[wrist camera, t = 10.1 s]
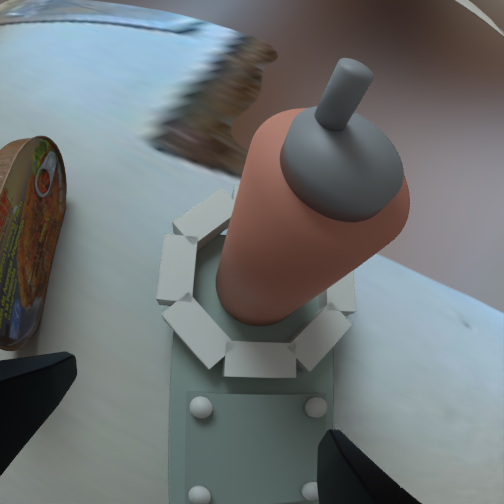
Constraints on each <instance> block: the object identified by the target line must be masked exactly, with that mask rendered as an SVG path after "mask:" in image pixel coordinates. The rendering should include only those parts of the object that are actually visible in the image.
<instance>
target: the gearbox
mask: <svg viewBox="0 0 504 504" xmlns="http://www.w3.org/2000/svg"><path fill="white" fill-rule="evenodd" d="M238 189H239V185H234V189H233V193H232V198H231V197H230V196H229V195H228V194H227V193H226V192H225V191H224V190H223V189H222V188H221V189H219V190H218V191H216V192H215V193H213V194H212V195H210V196H209V197H207V198H206V199H204V200H203V201H201V202H200V203H199V204H197V205H196V206H194V207H193V208H191V209H190V210H189V211H187V212H186V213H184V214H183V215H181V216H180V217H179V218H177V219H176V220H174V221H173V222H172V223H173V233H174V234H175V235H172V234H165V237H164V244H163V251H162V259H161V266H160V274H159V282H158V291H157V301H158V303H159V305H167V306H170V307H169V308H168V309H167V310H165V311H164V312H163V313H162V314H161V315H162V317H163V319H164V320H165V321H166V322H167V324H168V325H169V326H170V327H171V328H172V330H173V345H172V360H171V378H170V401H169V438H168V484H169V504H319V498H318V489H317V453H318V445H319V443H320V441H321V439H322V438H323V436H324V435H325V433H326V432H327V430H329V429H333V394H334V354H333V346H334V345H335V344H336V343H337V342H338V341H339V339H340V338H341V337H342V336H343V335H344V334H345V333H346V331H347V330H348V329H349V328H350V327H351V326H352V324H351V322H350V321H349V320H348V319H347V318H346V317H345V316H348V315H350V314H352V313H354V312H356V295H355V281H354V270H353V271H351V272H350V273H349V274H347V275H346V276H345V277H343V278H342V279H340V280H339V281H338V282H336V283H335V284H333V285H332V286H331V287H329V288H328V289H326V290H325V291H324V292H322V293H321V294H319V295H318V296H316V297H315V298H314V299H312V300H311V301H309V302H308V303H306V304H305V305H303V306H302V307H300V308H299V309H297V310H296V311H295V312H293V313H292V314H290V315H289V316H287V317H286V318H284V319H283V320H281V321H279V322H277V323H275V324H272V325H268V326H251V325H247V324H244V323H242V322H240V321H238V320H236V319H235V318H233V317H232V316H231V315H230V314H229V313H228V312H227V311H226V310H225V309H224V308H223V306H222V304H221V303H220V301H219V298H218V296H217V292H216V274H217V270H218V266H219V262H220V258H221V254H222V250H223V246H224V242H225V238H226V235H219V234H220V233H222V232H223V231H224V230H226V229H227V228H228V227H229V223H230V219H231V215H232V211H233V208H234V204H235V200H236V196H237V192H238Z"/></svg>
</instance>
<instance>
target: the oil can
mask: <svg viewBox="0 0 504 504" xmlns="http://www.w3.org/2000/svg"><path fill="white" fill-rule="evenodd" d="M373 78H374V76H373V73H372V72H371V71H370V70H369V69H368V68H367V67H366V66H365V65H363V64H362V63H360V62H358V61H355V60H353V59H349V58H342V59H340V60H339V61H338V64H337V66H336V68H335V70H334V72H333V74H332V76H331V79H330V81H329V83H328V85H327V87H326V89H325V91H324V94H323V96H322V98H321V100H320V102H319V104H318V106H314V107H310V108H300V109H292V110H288V111H284V112H281V113H278V114H276V115H274V116H272V117H271V118H269V119H268V120H266V121H265V122H264V123H263V124H262V125H261V126H260V127H259V129H258V130H257V131H256V133H255V135H254V137H253V139H252V142H251V145H250V149H249V152H248V156H247V159H246V163H245V166H244V170H243V174H242V178H241V181H240V185H239V189H238V192H237V196H236V200H235V204H234V208H233V211H232V215H231V219H230V223H229V227H228V231H227V235H226V238H225V242H224V246H223V250H222V254H221V258H220V262H219V266H218V270H217V274H216V292H217V296H218V298H219V301H220V303H221V304H222V306H223V308H224V309H225V310H226V311H227V312H228V313H229V314H230V315H231V316H232V317H233V318H235V319H236V320H238V321H240V322H242V323H244V324H247V325H251V326H268V325H272V324H275V323H277V322H279V321H281V320H283V319H284V318H286V317H287V316H289V315H290V314H292V313H293V312H295V311H296V310H297V309H299V308H300V307H302V306H303V305H305V304H306V303H308V302H309V301H311V300H312V299H314V298H315V297H316V296H318V295H319V294H321V293H322V292H324V291H325V290H326V289H328V288H329V287H331V286H332V285H333V284H335V283H336V282H338V281H339V280H340V279H342V278H343V277H345V276H346V275H347V274H349V273H350V272H351V271H353V270H354V269H356V268H357V267H358V266H360V265H361V264H362V263H364V262H365V261H366V260H368V259H369V258H370V257H372V256H373V255H374V254H376V253H377V252H378V251H380V250H381V249H382V248H384V247H385V246H386V245H387V244H389V243H390V242H391V241H393V240H394V239H395V238H396V237H397V236H398V235H399V234H400V232H401V231H402V229H403V227H404V226H405V223H406V221H407V218H408V214H409V207H410V198H409V190H408V185H407V182H406V179H405V176H404V172H403V166H402V162H401V159H400V156H399V154H398V152H397V150H396V148H395V147H394V145H393V144H392V142H391V141H390V139H389V138H388V137H387V136H386V135H385V134H384V133H383V132H382V131H381V130H380V129H379V128H378V127H377V126H376V125H374V124H373V123H372V122H370V121H369V120H367V119H366V118H364V117H363V116H360V115H359V114H357V113H355V112H354V111H355V110H356V108H357V106H358V104H359V103H360V101H361V99H362V97H363V96H364V94H365V92H366V91H367V89H368V87H369V86H370V84H371V82H372V80H373Z"/></svg>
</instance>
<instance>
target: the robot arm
mask: <svg viewBox="0 0 504 504" xmlns="http://www.w3.org/2000/svg"><path fill="white" fill-rule="evenodd" d="M76 376H77V366H76V358H75V356H74V355H73V354H71V353H68V352H58V353H52V354H45V355H38V356H31V357H24V358H17V359H9V360H1V361H0V475H2V474H3V472H4V471H5V470H6V468H7V467H8V466H9V465H10V463H11V462H12V461H13V460H14V458H15V457H16V456H17V455H18V453H19V452H20V451H21V450H22V448H23V447H24V446H25V445H26V443H27V442H28V441H29V440H30V438H31V437H32V436H33V435H34V434H35V432H36V431H37V430H38V429H39V428H40V426H41V425H42V424H43V423H44V422H45V420H46V419H47V418H48V417H49V416H50V414H51V413H52V412H53V411H54V410H55V408H56V407H57V406H58V405H59V403H60V402H61V400H62V399H63V397H64V396H65V394H66V393H67V391H68V389H69V388H70V386H71V385H72V383H73V382H74V380H75V379H76ZM317 489H318V498H319V504H422V503H420V502H419V501H418V500H416V499H415V498H414V497H413V496H411V495H410V494H409V493H408V492H407V491H406V490H404V489H403V488H400V486H399V485H398V484H397V483H396V482H395V481H394V480H393V479H391V478H390V477H389V476H388V475H387V474H386V473H385V472H384V471H383V470H381V469H380V468H379V467H378V466H377V465H376V464H375V463H374V462H373V461H372V460H371V459H370V458H368V457H367V456H366V455H365V454H364V453H363V452H362V451H361V450H360V449H359V448H358V447H357V446H356V445H355V444H354V443H352V442H351V441H350V440H349V439H348V438H347V437H346V436H345V435H344V434H343V433H342V432H341V431H340V430H335V429H329V430H327V432H326V433H325V435H324V436H323V438H322V439H321V441H320V443H319V445H318V453H317Z"/></svg>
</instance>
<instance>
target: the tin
mask: <svg viewBox="0 0 504 504" xmlns="http://www.w3.org/2000/svg"><path fill="white" fill-rule="evenodd" d="M66 189H67V184H66V173H65V167H64V163H63V159H62V155H61V153H60V151H59V149H58V147H57V145H56V144H55V143H54V142H53V141H52V140H51V139H50V138H48V137H46V136H36V137H33V138H27V139H20V140H16V141H13V142H10V143H9V144H7V145H6V146H4V147H3V148H2V149H1V150H0V349H2V350H5V351H14V350H18V349H20V348H21V347H23V346H24V345H25V344H26V343H27V342H28V341H29V340H30V339H31V337H32V336H33V334H34V333H35V331H36V329H37V326H38V324H39V321H40V318H41V315H42V311H43V306H44V301H45V295H46V289H47V283H48V278H49V273H50V268H51V264H52V259H53V255H54V250H55V246H56V242H57V238H58V234H59V231H60V227H61V223H62V220H63V216H64V211H65V204H66Z"/></svg>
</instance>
